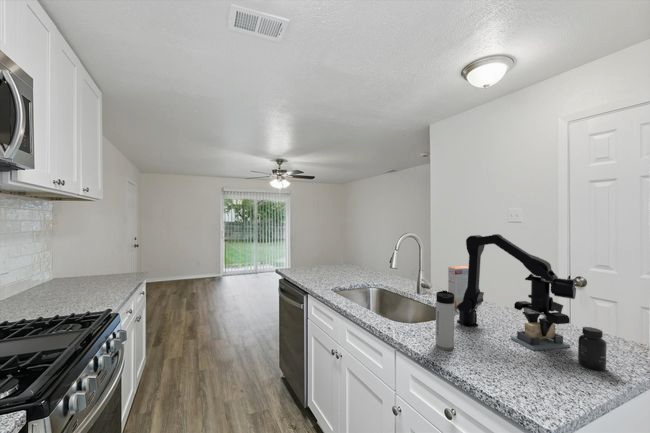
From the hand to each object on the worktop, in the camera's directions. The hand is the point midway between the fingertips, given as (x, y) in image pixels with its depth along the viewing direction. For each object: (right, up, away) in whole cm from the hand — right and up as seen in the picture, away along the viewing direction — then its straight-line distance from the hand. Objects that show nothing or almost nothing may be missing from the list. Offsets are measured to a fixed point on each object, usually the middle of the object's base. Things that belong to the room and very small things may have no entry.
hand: (539, 334), depth 115 cm
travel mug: (-38, -3, -4) cm, 38 cm away
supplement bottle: (+4, -4, -18) cm, 18 cm away
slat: (0, -1, 0) cm, 1 cm away
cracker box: (-8, -3, +47) cm, 48 cm away
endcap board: (0, -3, 0) cm, 3 cm away
